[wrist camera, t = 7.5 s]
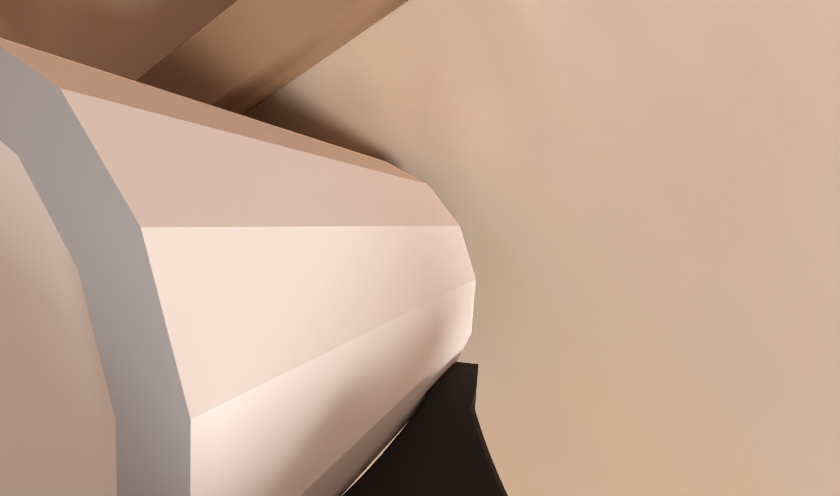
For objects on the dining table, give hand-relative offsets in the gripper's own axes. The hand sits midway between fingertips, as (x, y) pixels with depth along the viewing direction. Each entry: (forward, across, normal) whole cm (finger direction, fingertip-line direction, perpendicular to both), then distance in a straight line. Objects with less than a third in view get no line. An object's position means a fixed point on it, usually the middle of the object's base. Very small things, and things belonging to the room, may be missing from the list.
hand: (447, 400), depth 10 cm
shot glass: (+1, +2, -2) cm, 3 cm away
